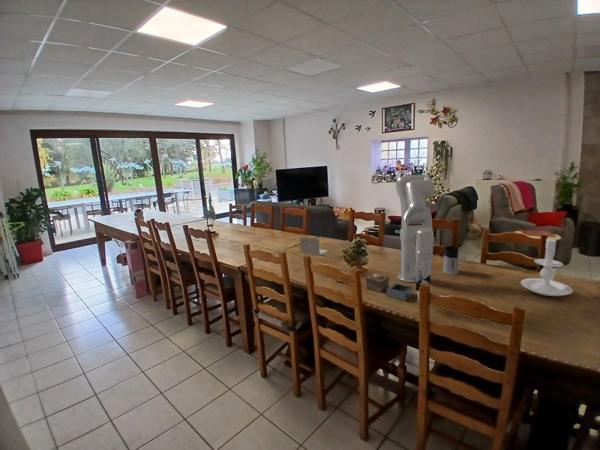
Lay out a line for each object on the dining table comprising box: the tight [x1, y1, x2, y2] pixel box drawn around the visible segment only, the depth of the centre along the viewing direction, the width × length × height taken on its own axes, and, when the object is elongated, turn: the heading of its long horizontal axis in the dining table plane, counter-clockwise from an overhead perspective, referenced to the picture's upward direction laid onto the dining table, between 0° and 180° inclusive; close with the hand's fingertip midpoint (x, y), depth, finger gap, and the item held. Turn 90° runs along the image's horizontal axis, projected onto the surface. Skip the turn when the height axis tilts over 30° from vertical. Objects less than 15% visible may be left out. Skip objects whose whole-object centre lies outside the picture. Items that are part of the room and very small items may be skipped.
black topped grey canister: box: [442, 245, 466, 275], centre depth 186 cm, size 9×14×15 cm, turn 18°
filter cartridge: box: [417, 279, 429, 302], centre depth 154 cm, size 5×5×10 cm
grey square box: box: [365, 273, 390, 293], centre depth 173 cm, size 9×9×6 cm
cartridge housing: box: [386, 282, 414, 302], centre depth 163 cm, size 10×10×4 cm
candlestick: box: [520, 238, 574, 297], centre depth 156 cm, size 21×25×28 cm
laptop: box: [299, 236, 329, 256], centre depth 244 cm, size 18×12×13 cm
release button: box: [373, 273, 383, 280], centre depth 173 cm, size 5×5×6 cm
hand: (423, 287), depth 154 cm, fingers open, 9 cm apart
